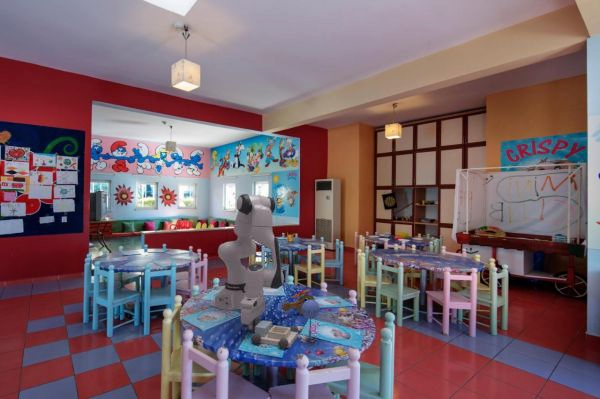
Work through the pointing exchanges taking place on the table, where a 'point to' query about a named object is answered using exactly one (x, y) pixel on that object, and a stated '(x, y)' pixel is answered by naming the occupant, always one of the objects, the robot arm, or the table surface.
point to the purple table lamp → (310, 311)
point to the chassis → (274, 335)
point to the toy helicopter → (299, 303)
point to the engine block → (255, 322)
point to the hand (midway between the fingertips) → (253, 326)
